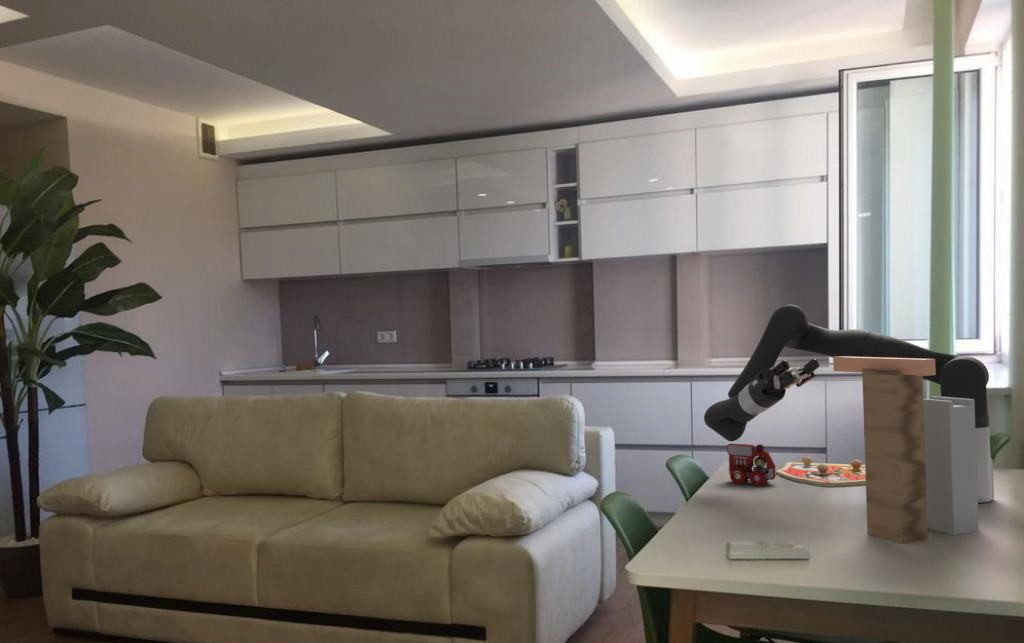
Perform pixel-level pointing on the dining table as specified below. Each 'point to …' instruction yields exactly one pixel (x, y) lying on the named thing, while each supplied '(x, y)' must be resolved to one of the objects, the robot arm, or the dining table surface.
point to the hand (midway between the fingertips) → (802, 363)
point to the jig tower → (894, 455)
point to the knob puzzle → (825, 473)
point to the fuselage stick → (886, 365)
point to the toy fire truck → (750, 464)
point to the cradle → (951, 465)
